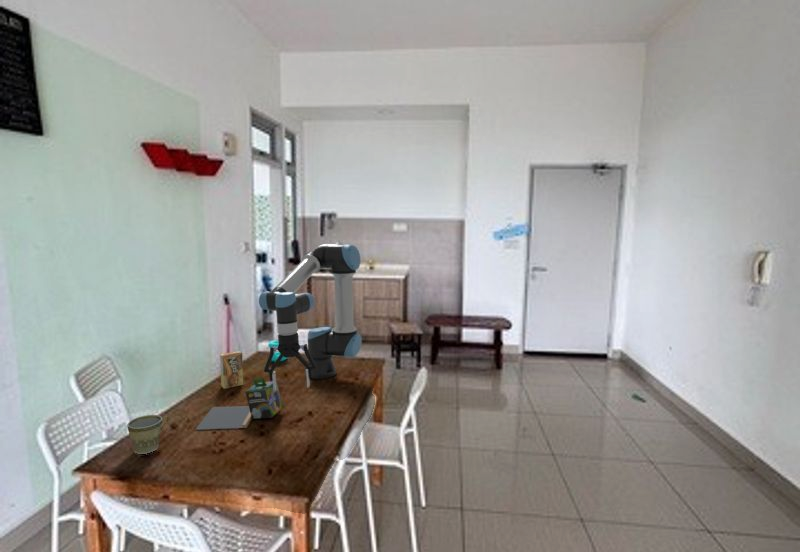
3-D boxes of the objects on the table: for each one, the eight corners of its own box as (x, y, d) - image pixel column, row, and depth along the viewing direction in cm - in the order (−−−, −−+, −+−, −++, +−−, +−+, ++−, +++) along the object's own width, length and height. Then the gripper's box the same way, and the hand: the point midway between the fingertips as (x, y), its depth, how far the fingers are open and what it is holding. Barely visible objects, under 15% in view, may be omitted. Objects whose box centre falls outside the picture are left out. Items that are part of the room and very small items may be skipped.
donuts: (283, 344, 240) (265, 344, 241) (283, 362, 242) (265, 362, 243) (289, 339, 250) (272, 339, 251) (290, 357, 251) (272, 356, 252)
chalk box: (283, 408, 178) (276, 372, 177) (272, 418, 169) (263, 380, 168) (263, 409, 180) (255, 374, 179) (250, 419, 172) (242, 382, 170)
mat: (258, 406, 184) (258, 402, 184) (246, 428, 164) (246, 424, 164) (212, 407, 182) (212, 404, 182) (195, 430, 163) (195, 426, 162)
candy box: (240, 382, 212) (239, 350, 210) (243, 384, 208) (242, 352, 206) (221, 386, 206) (219, 354, 204) (224, 389, 203) (222, 356, 201)
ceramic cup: (139, 461, 142) (137, 430, 140) (123, 452, 147) (120, 423, 146) (178, 444, 153) (177, 415, 151) (161, 436, 158) (160, 409, 157)
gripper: (320, 328, 177) (324, 381, 179) (257, 332, 174) (261, 386, 177) (319, 333, 169) (322, 388, 172) (253, 337, 167) (257, 393, 169)
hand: (291, 387), depth 174 cm, fingers open, 12 cm apart
